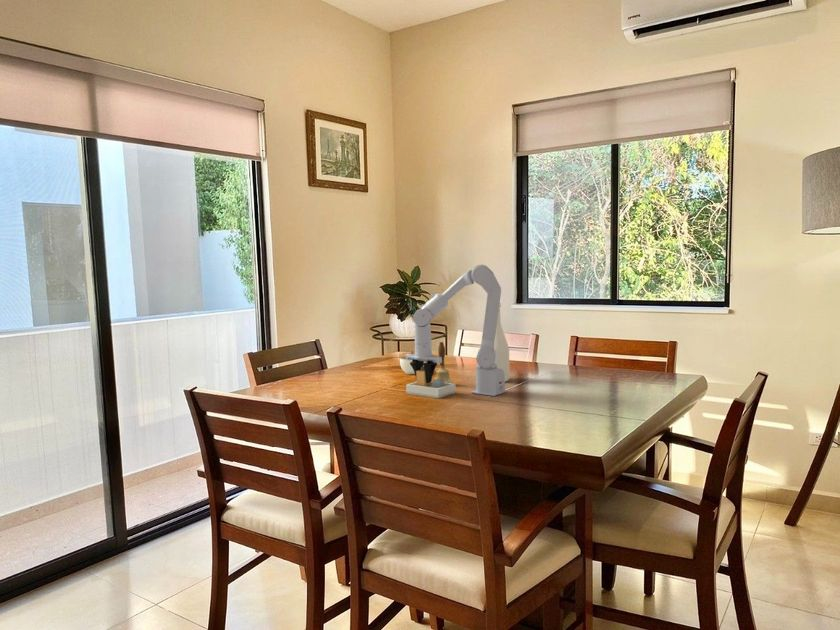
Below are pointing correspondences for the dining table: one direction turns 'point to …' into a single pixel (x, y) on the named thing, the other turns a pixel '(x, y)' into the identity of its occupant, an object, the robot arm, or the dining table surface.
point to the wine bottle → (501, 349)
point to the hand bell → (442, 366)
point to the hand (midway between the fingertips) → (424, 381)
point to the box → (431, 389)
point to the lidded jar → (406, 363)
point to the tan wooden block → (421, 377)
